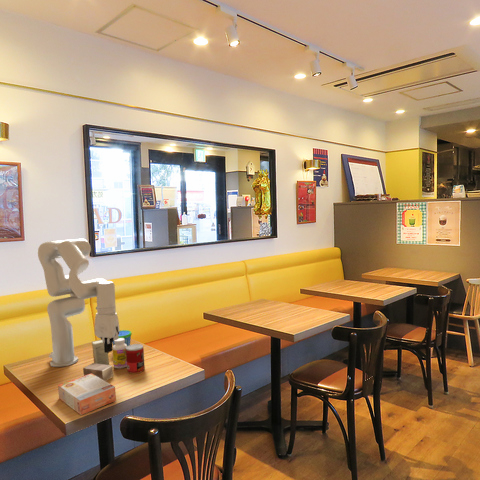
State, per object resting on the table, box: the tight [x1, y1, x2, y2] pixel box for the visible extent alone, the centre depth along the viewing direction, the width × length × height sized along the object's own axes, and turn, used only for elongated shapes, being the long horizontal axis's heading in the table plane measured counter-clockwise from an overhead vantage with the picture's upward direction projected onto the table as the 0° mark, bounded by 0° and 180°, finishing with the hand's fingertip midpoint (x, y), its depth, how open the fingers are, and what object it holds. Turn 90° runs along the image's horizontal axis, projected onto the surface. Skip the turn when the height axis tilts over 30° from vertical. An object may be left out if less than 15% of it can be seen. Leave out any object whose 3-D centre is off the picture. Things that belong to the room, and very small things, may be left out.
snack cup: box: [112, 329, 132, 347], centre depth 208 cm, size 16×10×10 cm
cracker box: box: [57, 373, 117, 416], centre depth 155 cm, size 14×6×21 cm
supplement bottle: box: [112, 338, 127, 369], centre depth 188 cm, size 7×7×13 cm
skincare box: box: [91, 339, 110, 365], centre depth 189 cm, size 6×4×12 cm
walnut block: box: [82, 362, 114, 382], centre depth 176 cm, size 5×6×11 cm
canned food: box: [126, 343, 146, 374], centre depth 183 cm, size 8×8×11 cm
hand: (108, 351), depth 173 cm, fingers closed
